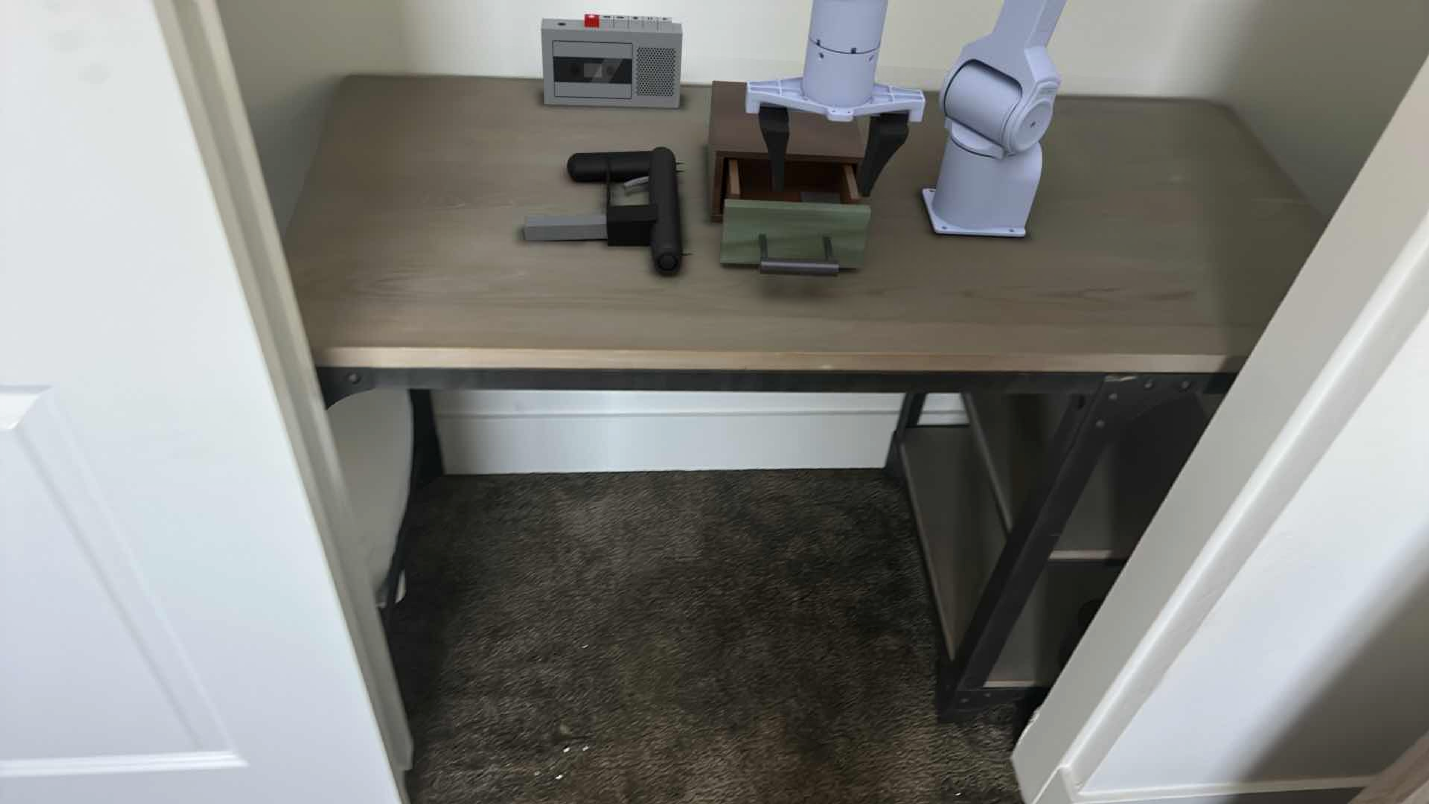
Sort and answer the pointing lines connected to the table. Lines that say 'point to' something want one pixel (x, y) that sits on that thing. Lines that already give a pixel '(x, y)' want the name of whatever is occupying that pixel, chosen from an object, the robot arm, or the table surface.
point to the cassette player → (612, 61)
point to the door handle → (625, 206)
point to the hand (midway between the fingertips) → (820, 189)
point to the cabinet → (743, 139)
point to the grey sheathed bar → (819, 198)
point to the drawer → (792, 218)
